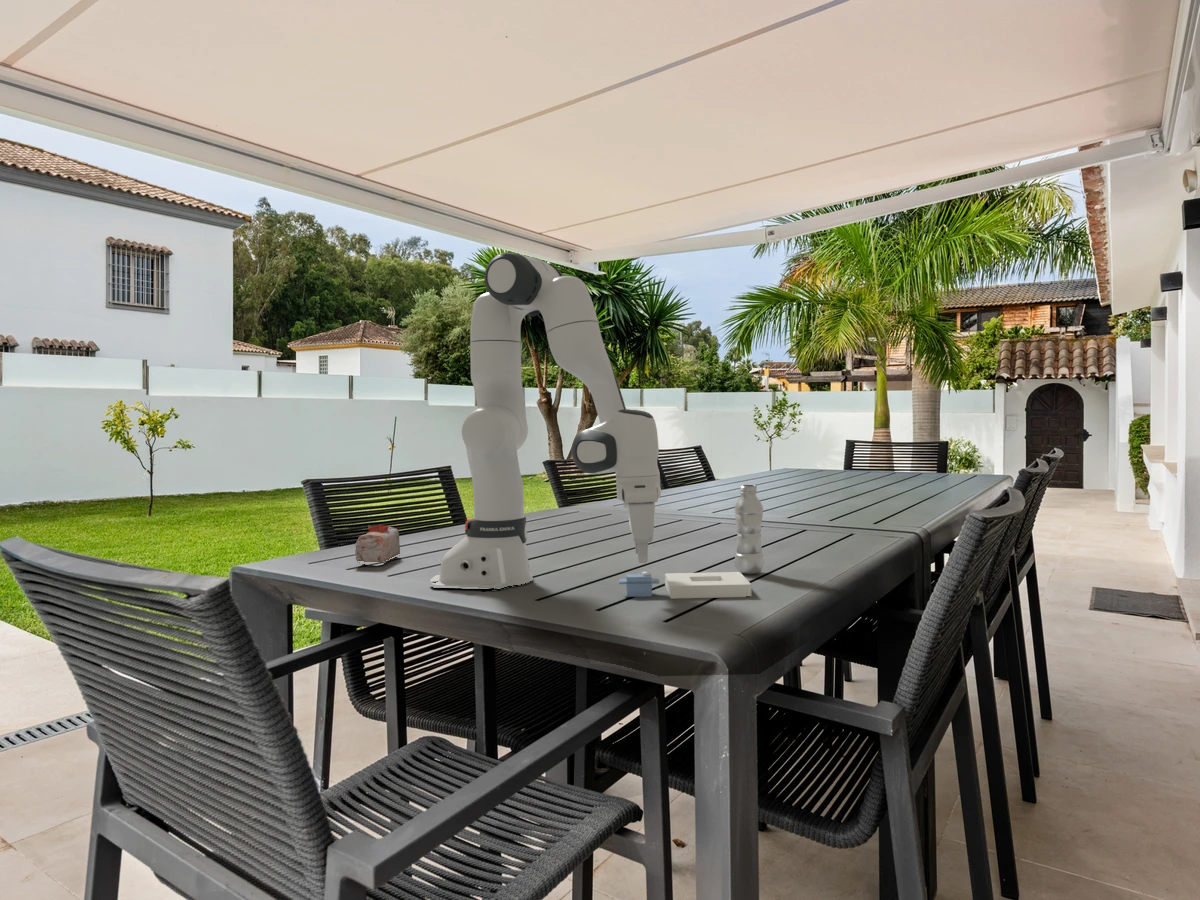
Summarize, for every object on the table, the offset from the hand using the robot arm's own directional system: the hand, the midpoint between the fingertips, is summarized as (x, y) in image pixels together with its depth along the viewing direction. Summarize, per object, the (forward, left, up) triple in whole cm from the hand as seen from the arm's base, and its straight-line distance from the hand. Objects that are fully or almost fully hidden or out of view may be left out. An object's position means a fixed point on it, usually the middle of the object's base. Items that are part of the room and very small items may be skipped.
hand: (641, 557), depth 153 cm
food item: (-65, +41, -8) cm, 78 cm away
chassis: (+13, +2, -8) cm, 16 cm away
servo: (-1, 0, -8) cm, 8 cm away
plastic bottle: (+25, +18, -8) cm, 32 cm away
